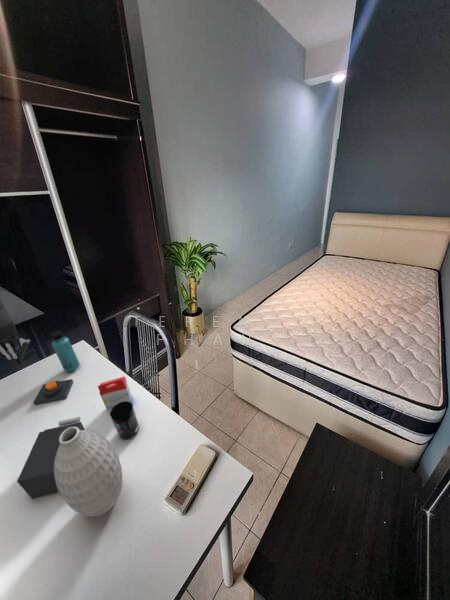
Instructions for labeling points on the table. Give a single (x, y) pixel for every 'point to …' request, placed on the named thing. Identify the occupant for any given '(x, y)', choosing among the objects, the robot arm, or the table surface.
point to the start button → (51, 386)
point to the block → (54, 392)
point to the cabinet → (42, 464)
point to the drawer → (66, 422)
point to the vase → (87, 472)
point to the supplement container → (124, 420)
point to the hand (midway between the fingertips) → (19, 365)
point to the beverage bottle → (64, 351)
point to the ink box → (115, 392)
